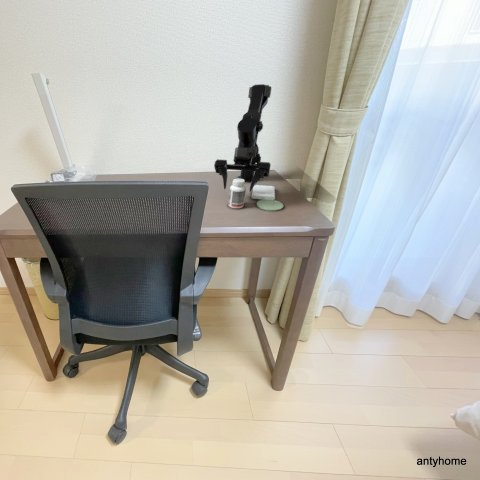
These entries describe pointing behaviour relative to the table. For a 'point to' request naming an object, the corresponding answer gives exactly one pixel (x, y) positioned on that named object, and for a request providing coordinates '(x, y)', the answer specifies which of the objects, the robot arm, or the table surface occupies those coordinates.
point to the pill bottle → (237, 193)
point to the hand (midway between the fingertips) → (237, 189)
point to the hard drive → (263, 192)
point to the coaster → (270, 205)
